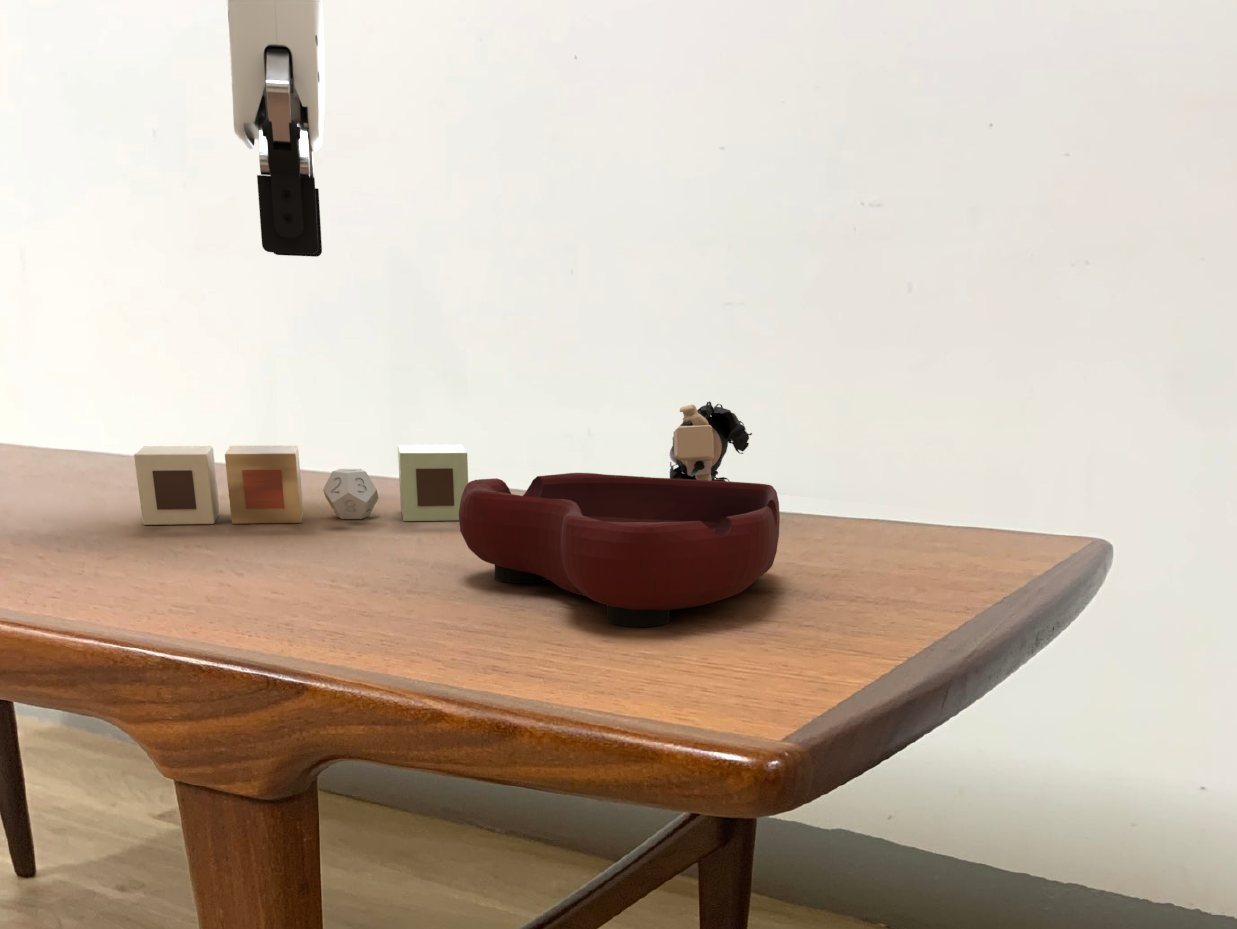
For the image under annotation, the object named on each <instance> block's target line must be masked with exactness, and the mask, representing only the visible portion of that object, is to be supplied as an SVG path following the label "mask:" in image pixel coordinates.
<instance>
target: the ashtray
mask: <svg viewBox="0 0 1237 929" xmlns="http://www.w3.org/2000/svg"><path fill="white" fill-rule="evenodd" d="M780 518H781V517H780V501H779V497H778V492H777V490H776V489H775V488H774V486H773V485H771V484H767V483H758V482H741V481H730V482H729V481H728V480H725V481H711V480H693V479H673V478H670V477H650V476H637V475H636V476H635V475H623V474H622V475H621V474H620V475H619V474H604V473H593V472H567V473H566V472H565V473H558V474H547V475H546V474H545V475H537V476H536V477H535V478H534V479H532V481H531V483H530V484H529V486H528V487H527V489H526V491H525V493H523V495H518V494H513V493H512V492H511V490H510V487H509V486H508V485H507V483H506V482H505V481H504V480H503V479H500V478H481V479H480V478H479V479H474V480H471V481H468V484H467V485H466V486H465V488H464V491H463V494H462V497H461V502H460V507H459V532H460V533H461V536H462V538H463V540H464V542H465V544H466V546H467V548H468V549H469V550H470V551H471V552H472V553H473V554H474V555H475V556H476V557H477V558H478V559H480V560H481V561H483V562H484V563H488V564H491V565H494V579H495V580H497V581H498V582H499V581H500V582H503V583H504V582H505V583H510V584H511V583H512V584H535V583H540V582H545V581H549V582H551V583H553V584H555V585H556V586H557V587H559V588H561V589H563V590H565V591H567V592H570V593H572V594H576V595H579V596H585V597H586V598H588V599H590V600H592V601H593V602H597V603H599V604H602V605H606V620H607V621H608V622H609V623H611V624H614V625H617V626H623V627H632V628H633V627H634V628H644V627H645V628H647V627H648V628H649V627H657V626H661V625H665V624H667V623H669V621H670V614H671V612H670V611H671V610H681V609H682V610H683V609H687V608H694V607H699V606H704V605H708V604H712V603H715V602H718V601H721V600H725V599H728V598H732V597H733V596H735V595H738V594H740V593H742V592H744V591H745V590H746V589H748V588H749V587H751V586H752V584H753V583H755V582H756V581H757V580H758V579H759V578H761V577H763V576H764V575H765V574H766V573H767V572H769V571H770V569H771V568H772V566H773V565H774V562H775V558H776V555H777V552H778V545H779V538H780V523H781V522H780V521H781V520H780Z"/></svg>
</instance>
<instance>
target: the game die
mask: <svg viewBox="0 0 1237 929" xmlns="http://www.w3.org/2000/svg"><path fill="white" fill-rule="evenodd" d="M322 491H323V494H324V497H325V499H326V501H327V503H328V504H329V505H330V508H332V510H333V513H334V514H335V515H336V516H337V517H338V518H340V519H342V520H354V519H355V520H362V519H364V518H365V519H366V518H367V517H370V516H371V513H373V512H372V511H373V510H374V508H375V506H376V505H377V502H378V500H379V498H380V497H379V493H378V489H377V487H376V486H375V484H374V482H373V481H372V479H371V477H370V476H369V475H368V472H367V471H366V470H364V469H362V468H339V469H335V470H332V471H331V473H330V475H329V477H328V479H327V481H326V483H325V485H324V487H323V489H322Z"/></svg>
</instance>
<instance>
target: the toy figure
mask: <svg viewBox="0 0 1237 929" xmlns="http://www.w3.org/2000/svg"><path fill="white" fill-rule="evenodd" d="M679 413H682V414H683V418H682V422H681V424H680V425H679V426H677V428H676V429H675V430H674V431H673V436H672V445H671V447H670V449H669V458H670V460H671V461H670V462H669V467H670V468H669V478H673V479H693V480H711V481H728V482H731V481H730V479H729V478H727V477H724V476H722V477H716V476H717V475H719V471H718V469H719V467H721V464H722V460H723V458H724V457H725V455H726V454H727V451H728V447H729V444H732V446H733V448H734V450H735V452H737V453H738V454H741V455H742V454H744V452H745V451H746V449H747V448H748V447H749V445H750V443H749V442H748V441H749V440H750V436H752V435H753V433H752V432H750V433H748V432H747V429H746V426H745V424H744V422H743V421H741V420H739V418H738V416H737V415H736V413H734V412H732V411H731V410H730V409H727V408H726V407H725V408H724V407H723V405H722V404H720V403H717V404H715V405H714V406H713V405H712V402H711V401H707V402H706V404H705V405H702V406H701V407H699V408H698V409H697V406H696V405H694V404H689V405H685V406H681V407H680V408H679ZM672 462H673V463H674V464H673V465H672ZM675 466H676V467H675ZM674 467H675V468H674Z"/></svg>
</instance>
